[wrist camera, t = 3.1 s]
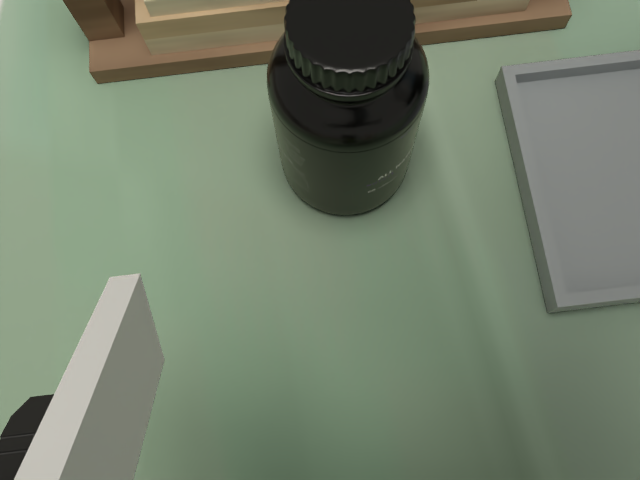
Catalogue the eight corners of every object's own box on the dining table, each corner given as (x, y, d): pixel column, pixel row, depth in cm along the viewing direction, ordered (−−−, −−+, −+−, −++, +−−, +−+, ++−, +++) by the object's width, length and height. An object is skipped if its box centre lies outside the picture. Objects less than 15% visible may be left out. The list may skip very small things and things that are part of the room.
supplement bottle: (407, 222, 32) (443, 108, 21) (277, 215, 33) (243, 99, 21) (409, 105, 34) (444, -58, 23) (288, 100, 35) (261, -63, 23)
